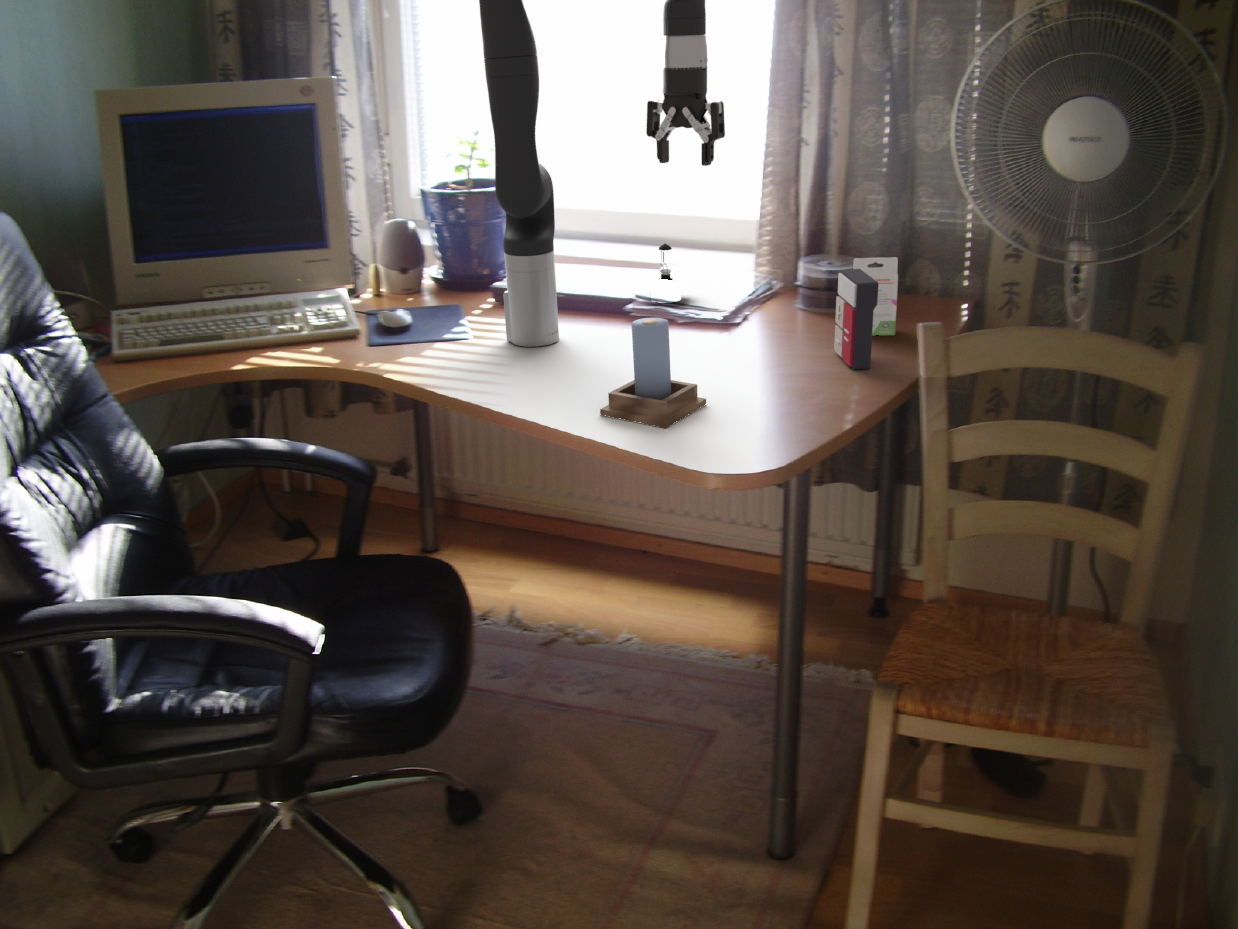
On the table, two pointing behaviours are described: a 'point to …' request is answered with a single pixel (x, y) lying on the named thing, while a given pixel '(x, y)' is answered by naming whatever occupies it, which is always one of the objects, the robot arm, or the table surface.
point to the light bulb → (665, 272)
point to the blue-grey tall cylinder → (651, 358)
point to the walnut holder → (653, 404)
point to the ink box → (882, 292)
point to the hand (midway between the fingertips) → (685, 163)
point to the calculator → (855, 317)
